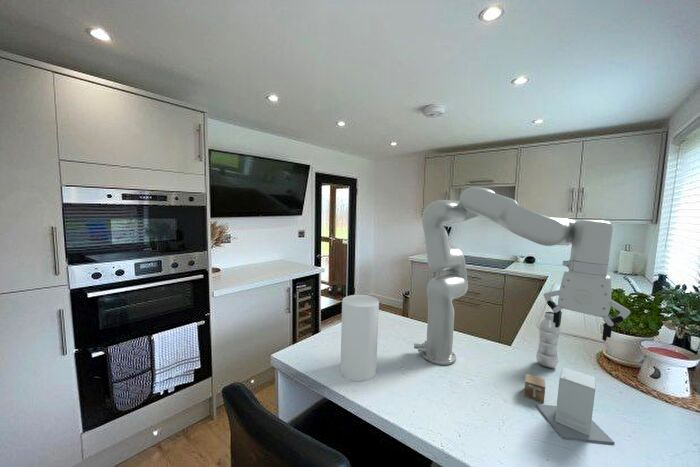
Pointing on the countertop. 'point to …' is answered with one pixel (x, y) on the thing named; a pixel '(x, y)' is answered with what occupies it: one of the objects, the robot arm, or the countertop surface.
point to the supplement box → (575, 400)
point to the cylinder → (359, 337)
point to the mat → (570, 433)
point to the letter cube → (534, 388)
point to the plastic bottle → (548, 341)
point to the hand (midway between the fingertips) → (579, 332)
